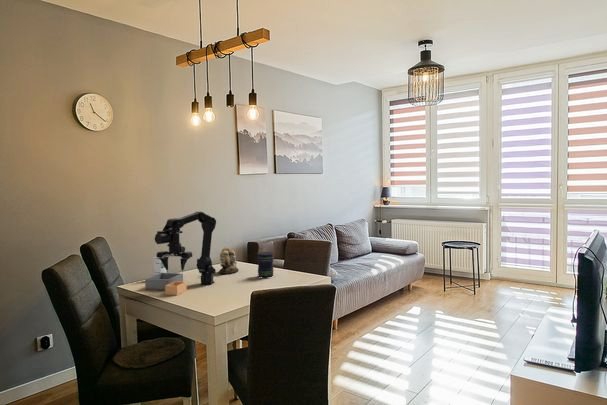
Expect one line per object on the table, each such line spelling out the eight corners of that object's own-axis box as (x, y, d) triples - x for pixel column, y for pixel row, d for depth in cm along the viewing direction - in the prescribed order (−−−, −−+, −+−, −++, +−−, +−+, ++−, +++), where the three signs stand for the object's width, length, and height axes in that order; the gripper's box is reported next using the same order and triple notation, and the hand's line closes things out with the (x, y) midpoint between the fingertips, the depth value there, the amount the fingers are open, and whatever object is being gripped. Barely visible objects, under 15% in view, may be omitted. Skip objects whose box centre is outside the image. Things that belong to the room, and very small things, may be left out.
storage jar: (276, 276, 259) (276, 253, 258) (262, 279, 253) (262, 255, 252) (268, 274, 267) (268, 251, 266) (255, 276, 261) (254, 253, 261)
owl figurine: (230, 275, 265) (230, 249, 264) (214, 274, 268) (213, 248, 267) (241, 269, 282) (241, 245, 281) (226, 269, 285) (225, 244, 284)
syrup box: (160, 280, 253) (159, 257, 252) (154, 279, 256) (153, 256, 255) (168, 278, 258) (167, 256, 257) (161, 277, 261) (161, 255, 260)
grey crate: (183, 283, 245) (182, 273, 245) (168, 290, 229) (168, 279, 229) (161, 282, 248) (161, 272, 248) (145, 289, 232) (145, 278, 232)
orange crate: (186, 290, 228) (186, 281, 228) (177, 295, 218) (177, 286, 218) (175, 290, 230) (174, 281, 229) (165, 294, 220) (165, 285, 220)
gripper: (196, 240, 229) (197, 267, 230) (166, 239, 233) (167, 266, 234) (187, 243, 219) (187, 272, 219) (155, 242, 222) (156, 271, 223)
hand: (174, 270), depth 224 cm, fingers open, 9 cm apart
